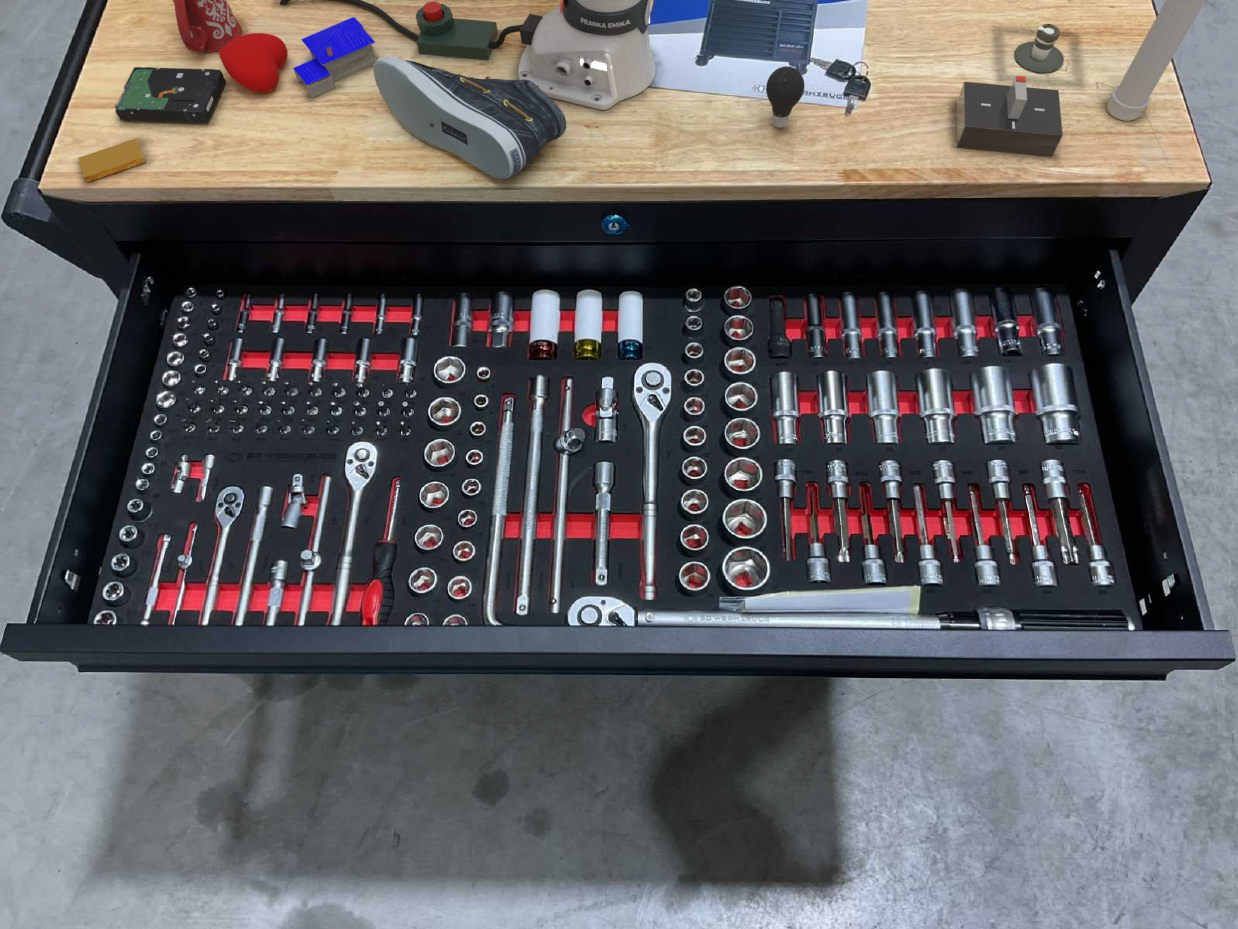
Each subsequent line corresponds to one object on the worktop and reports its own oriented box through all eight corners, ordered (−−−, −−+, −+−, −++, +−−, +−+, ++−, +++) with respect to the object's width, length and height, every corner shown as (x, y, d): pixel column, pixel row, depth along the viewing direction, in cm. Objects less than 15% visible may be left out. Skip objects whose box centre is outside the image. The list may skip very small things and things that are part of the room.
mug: (217, -58, 144) (249, 20, 156) (163, -60, 145) (198, 17, 156) (192, -10, 138) (227, 67, 150) (135, -12, 138) (174, 65, 150)
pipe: (1140, 125, 137) (1257, -71, 111) (1098, 116, 138) (1204, -80, 112) (1143, 102, 139) (1259, -96, 113) (1101, 93, 141) (1206, -104, 114)
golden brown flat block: (82, 163, 140) (88, 183, 137) (78, 157, 139) (84, 177, 136) (139, 143, 141) (146, 162, 139) (135, 138, 140) (142, 157, 138)
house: (283, 61, 150) (270, 31, 145) (358, 29, 154) (349, -2, 149) (311, 98, 145) (300, 68, 140) (389, 63, 149) (380, 33, 144)
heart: (226, 14, 145) (290, 30, 147) (231, 42, 150) (292, 57, 152) (205, 61, 140) (271, 77, 141) (210, 89, 144) (274, 104, 146)
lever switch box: (956, 147, 136) (965, 125, 132) (956, 103, 141) (964, 80, 137) (1051, 156, 134) (1063, 134, 131) (1048, 111, 139) (1059, 88, 135)
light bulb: (795, 140, 138) (805, 85, 129) (758, 136, 138) (766, 80, 129) (799, 115, 140) (809, 59, 131) (763, 111, 141) (771, 55, 132)
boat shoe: (370, 106, 142) (433, 70, 149) (510, 207, 135) (570, 165, 142) (362, 41, 133) (430, 6, 139) (512, 147, 126) (576, 105, 132)
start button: (423, 21, 148) (420, 11, 147) (428, 10, 150) (425, 0, 148) (440, 22, 148) (438, 13, 147) (445, 11, 149) (443, 1, 148)
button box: (413, 53, 150) (408, 31, 147) (426, 23, 154) (421, 1, 150) (488, 60, 149) (484, 38, 145) (499, 29, 152) (496, 8, 149)
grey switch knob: (1018, 119, 133) (1027, 98, 129) (1007, 118, 133) (1016, 97, 130) (1017, 96, 135) (1026, 75, 132) (1006, 95, 135) (1015, 74, 132)
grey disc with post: (1078, 84, 142) (1092, 56, 137) (1000, 77, 143) (1011, 50, 139) (1073, 35, 147) (1086, 8, 143) (998, 29, 149) (1009, 1, 144)
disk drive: (228, 82, 148) (141, 79, 149) (221, 68, 146) (132, 65, 146) (210, 126, 143) (120, 122, 144) (203, 111, 141) (111, 108, 141)
